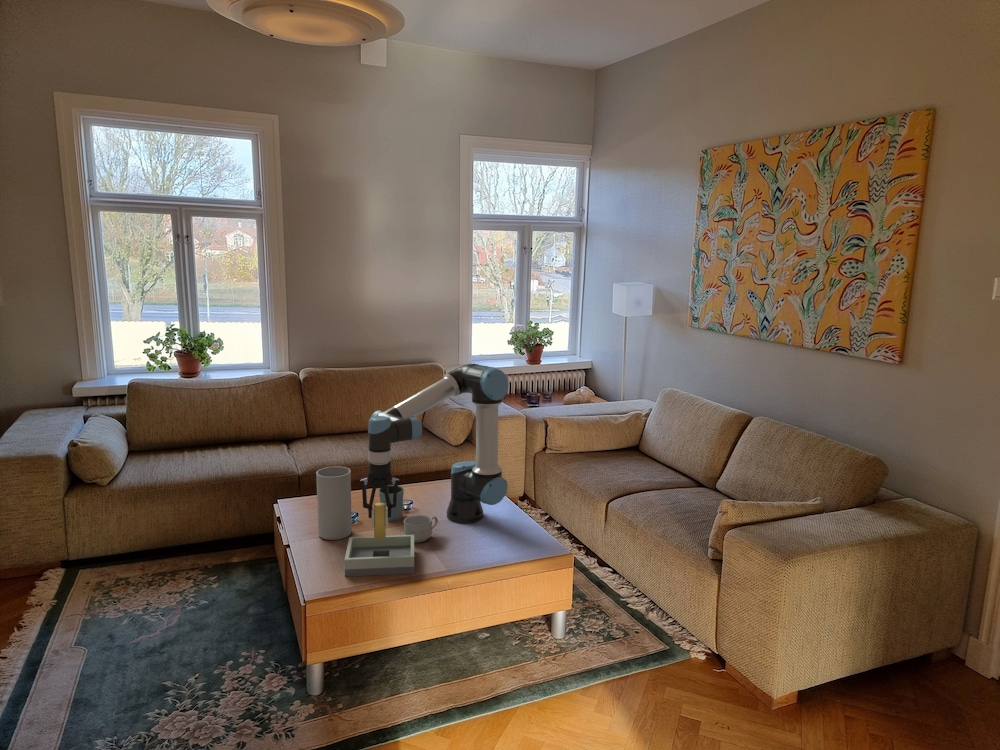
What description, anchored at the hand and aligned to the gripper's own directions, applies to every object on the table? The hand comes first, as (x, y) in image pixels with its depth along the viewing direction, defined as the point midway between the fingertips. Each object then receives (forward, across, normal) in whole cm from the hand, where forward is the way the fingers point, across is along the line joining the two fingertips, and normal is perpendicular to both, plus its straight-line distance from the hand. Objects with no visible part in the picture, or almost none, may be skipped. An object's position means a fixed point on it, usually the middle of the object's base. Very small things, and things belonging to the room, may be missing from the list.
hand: (379, 526), depth 231 cm
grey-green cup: (+13, -3, -40) cm, 42 cm away
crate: (+13, 0, +1) cm, 13 cm away
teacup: (+13, -15, -18) cm, 27 cm away
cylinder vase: (+13, +18, -25) cm, 33 cm away
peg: (+4, 0, 0) cm, 4 cm away
